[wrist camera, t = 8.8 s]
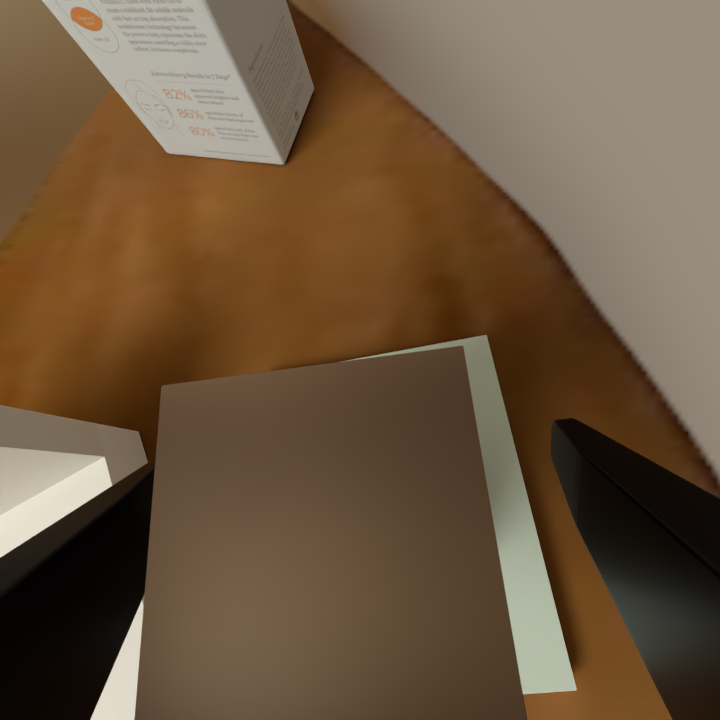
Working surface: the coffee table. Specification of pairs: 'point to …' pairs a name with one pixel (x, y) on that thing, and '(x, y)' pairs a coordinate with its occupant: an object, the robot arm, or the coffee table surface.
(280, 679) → the walnut block
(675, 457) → the coffee table surface
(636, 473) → the robot arm
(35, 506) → the ledge
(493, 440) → the pad
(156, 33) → the small box
